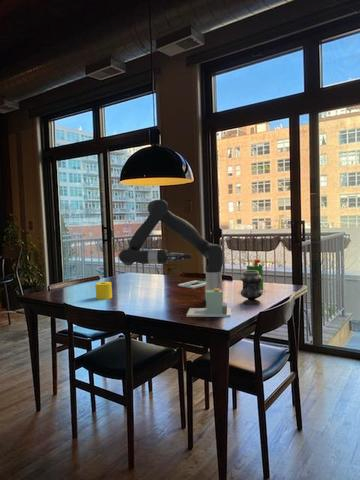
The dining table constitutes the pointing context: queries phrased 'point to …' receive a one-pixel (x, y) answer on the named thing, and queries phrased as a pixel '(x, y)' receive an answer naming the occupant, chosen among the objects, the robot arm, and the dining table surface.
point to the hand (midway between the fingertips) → (191, 256)
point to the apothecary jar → (251, 287)
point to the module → (214, 301)
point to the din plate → (202, 313)
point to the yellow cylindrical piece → (103, 290)
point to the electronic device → (188, 285)
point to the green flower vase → (257, 268)
